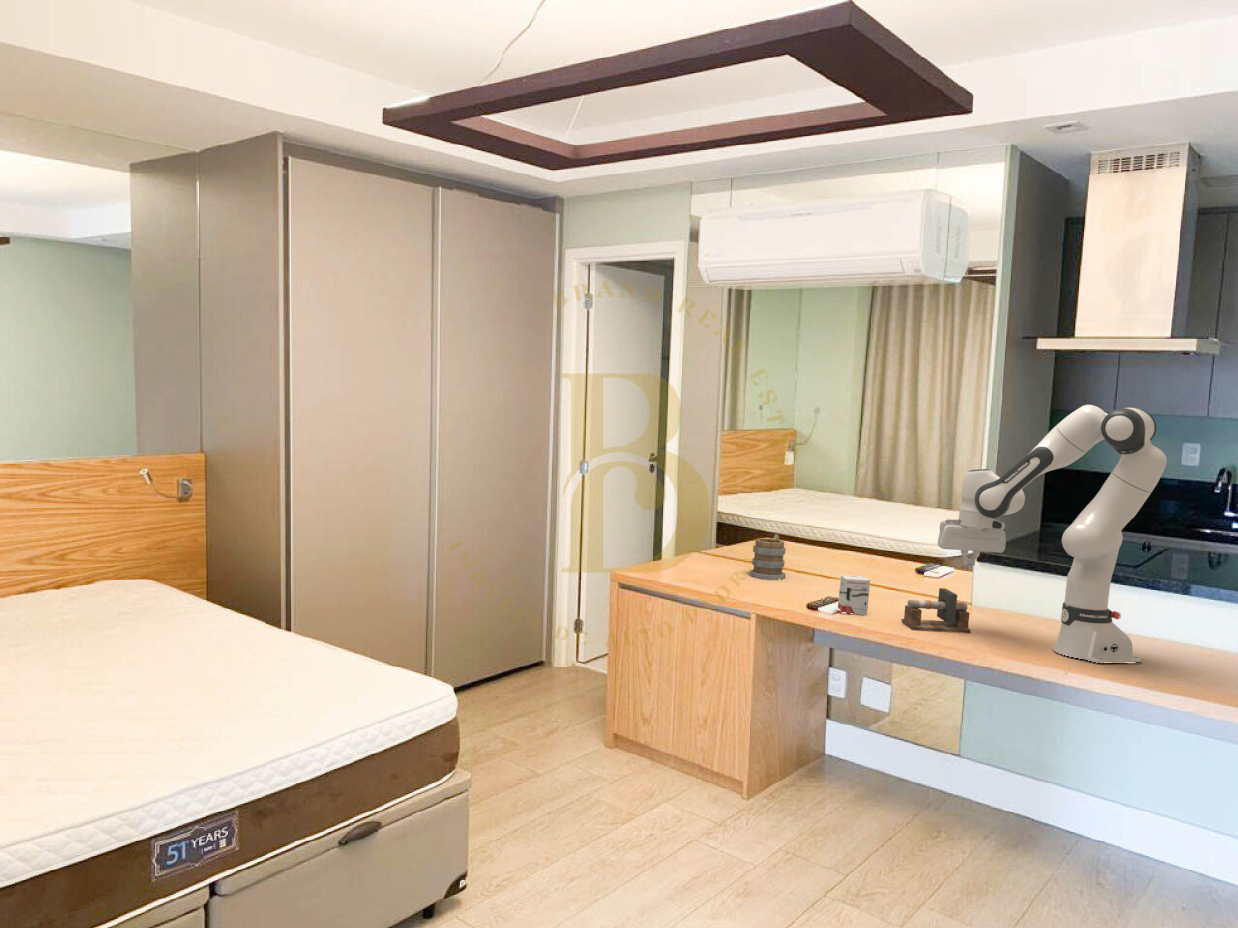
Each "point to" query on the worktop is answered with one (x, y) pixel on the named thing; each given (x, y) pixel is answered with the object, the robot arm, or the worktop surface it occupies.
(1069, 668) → the worktop surface
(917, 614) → the pipe stand
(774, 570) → the tankard
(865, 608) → the ink box
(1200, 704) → the worktop surface
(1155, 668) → the worktop surface
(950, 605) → the dark grey flat slab
